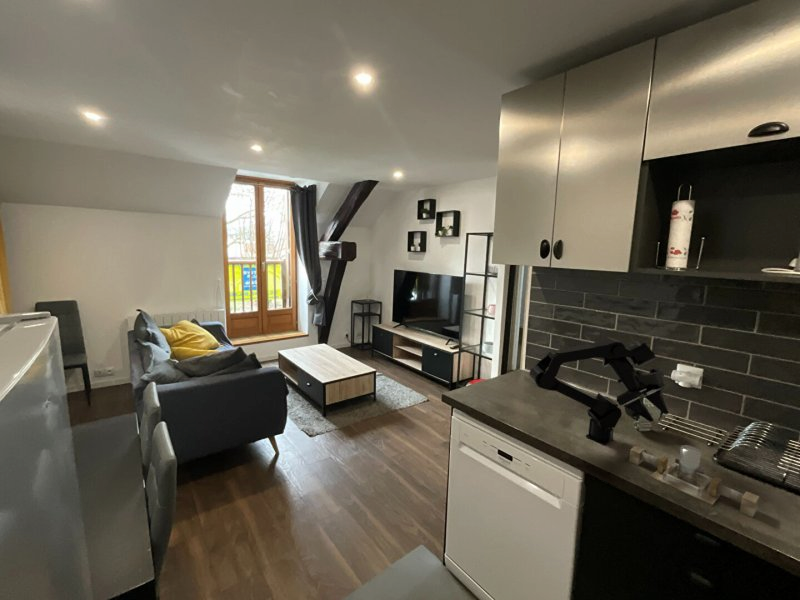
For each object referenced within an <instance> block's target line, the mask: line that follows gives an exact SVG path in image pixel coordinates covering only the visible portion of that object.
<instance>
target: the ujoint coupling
mask: <svg viewBox="0 0 800 600" xmlns="http://www.w3.org/2000/svg"><path fill="white" fill-rule="evenodd" d="M701 456H702V451H701V449H699V448H697V447H695V446H692V445H687V444H685V445H684V444H682V445H681V446H680V451H679V458H675V459H674V463H677V464H678V472H677V478H678V479H681V480H683V481H685V482H687V483H690V484H692V485H694V486H696V485H697V478H698V473H701V474H703V475H705V473H706V471H705V470H704V469H703V468H700V464H701Z"/></svg>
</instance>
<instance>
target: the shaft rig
mask: <svg viewBox="0 0 800 600" xmlns="http://www.w3.org/2000/svg"><path fill="white" fill-rule="evenodd" d="M629 450H630V451H629V459H628V460H629V463H631V464H634V465H637V466H639V465H640V464H641V463H642V462H646V463H648V464H651V465H653V466H656V467H657V470H655V472H653V473H652V474H651V475H650V478H653V479H655V480H657V481H659V482H661V483H663V484H665V485H667V486H669V487H672V488H674V489H676V490H678V491H681V492H683V493H685V494H687V495H689V496H691V497H693V498H695V499H698V500H700V501H702V502H704V503H706V504H708V505H710V506H714V504H715V503H716V502H717V500H718V499H719V498H720V497H721V496H724V497H725V498H727V499H730V500H733V501H735V502H737V503H739V504H740V508H739V512H740V513H742V514H745V515H746V516H749V517H751V518H754V516H755V515H756V513H757V510H758V506H759V501H760V496H759V495H757V494H754V493H752V492H749V491H745V493H742V492H740V491H738V490H736V489H732V488H730V487H728V486H726V485H723V484H721V483H722V479H721V478H718V477H716V476H715V477H714V478H713V477H710V476H708V475H706V474H701V473H698V478H697V485H696V486H694V485H692V484H690V483H687V482H685V481H683V480H681V479H678V478H677V472H678V464H677V463H675V462H674V463H673V464H671V465H668V463H669V457H667V456H666V455H663V456H662V457H660V458H659V457H657V456H655V455H653V454H649V453H647V452H645V451H646V450H645V448H644V447H641V446H639V445H634V446H633V447H632V448H631V449H629Z"/></svg>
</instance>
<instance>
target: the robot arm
mask: <svg viewBox="0 0 800 600" xmlns="http://www.w3.org/2000/svg"><path fill="white" fill-rule="evenodd" d="M594 358H595V359H597V358H599V359H600V358H601V359H602V366H601V367H602V368H606V367H608V366H609V367H610V368H611V370H612V371H613V373H614V374H615V375H616V376H617V378H618V379H617V383H618V384H621V383H622V385H623V386H624V388H625V389H626V391H625V392H623V393H621V394H619V395H617V396H616V402H617V403H618V404H617V403H616V402H614V401H613V400H612V399H611V398H610V397H609V396H604V395H602V394H601V393H600V392H598V393H597V395H592V394H590V393H587V392H585V391H584V390H582V389H579V388H577V387H575V386H574V385H571V384H569V383H567V382H566V381H564V380H561V379H560V378H558V377H557V375H558V373H559V370H560V367H562V365H563V364H565V363H573V362H577V361H583V360H590V359H594ZM655 359H656V355H655V351H653V350H652V349H651V348H650V347H649V346H648V345H647V342H644V341H641V340H640V341H639V342H637V343H635V344H634V345H633V346H630V347H626V346H625V345H624V343H622V342H621V341H619V340H617V339H614V338H613V337H609V336H608V337H607V336H606V337H603V338H600V339H598V340H596V341H594V342H593V343H590V344H585V345H579V346H573V347H568V348H562V349H552V350H550V351H549V352H548V353H547V354H546V356H544V357H542V358H541V359H540V360H539V361H538V362H537V363H536V365H535V366H533V367H532V368H531V369H529V377H530V379H531V380H532V382H533V383H534V384H535V385H536V386H537V387H538V388H540V389H544V390H546V391H552V392H558V393H560V394H561V395H563V396H565V397H567V398H569V399H572V400H573V401H574V402H575V401H576V402H578V403H580V404H582V405H583V406H586V407H588V409H587V411H586V412H587V415H588V417H590V419H589V425H588V433H587V434H585V438H588V439H589V440H592V441H595V442H597V443H598V444H601V445H603V446H605V445H607V444H609V443H610V442H612V441H613V440H614V431H615V430H614V429H615V427H616V425H618V423H619V421H620V418H621V417H622V409H621V408H620V407H621V406H623V407H624V408H625V407H627V408H629V409H630V410H632V411H634V412H636V413H637V414H639V415H640V416H642V417H644V418H645V419H647V420H646V421H648V422H650V423H652V422H654V420H653V418H652V416H651V414H650V413H649V411H648V410H647V408H646V407H645V405H644V403H643V401H644V398H646V399H648V400H649V401H650V402H651V403H652V404H653V405H655V406H656V407H657V408H658V409H659V410H660V411H662V412H663V413H664V414H663V415H667V414H669V410H668V408H667V405H666V403H665V399H664V397H663V393H664V391H665V386H666V385H665V384H664V382H665V380H664V376H665V374H664V373H663V372H662V370H660V369H659V368H658V367H654V368H651V369H650V370H649V372H647V373H643V372H642V371H641V370H639V369H638V370H636V368H634V366H635V367H639V368H640V366H643V365H645V364H647V363H649V362H651V361H653V360H655ZM642 395H644V396H642ZM641 396H642V397H641ZM618 406H620V407H618Z"/></svg>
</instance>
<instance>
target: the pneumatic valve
mask: <svg viewBox="0 0 800 600" xmlns="http://www.w3.org/2000/svg"><path fill="white" fill-rule="evenodd" d="M643 403H644V405H645V407H646V408H647V410H648V411H649V413H650V414H651V416H652V418H653V421H660V420H661V418H662V416H663V415H665V414H664V413H663V412H662V411H660V410H659V409H658V408H657V407H656V406H655V405H653V404H652V403H651V402H650V401H649V400H648V399H646V398H645V397H644V401H643ZM624 411H625V414H626V415H627V416H628V417H630V418H632V420H634V421H633V422H632V423H633V428H635V429H636V430H638V431H639V432H651V428H652V422H650V421H648V420H647V419H645V418H644V417H642V416H640V415H639V414H637V413H636V412H634V411H632V410H630V409H629V408H627V407H624Z"/></svg>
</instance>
